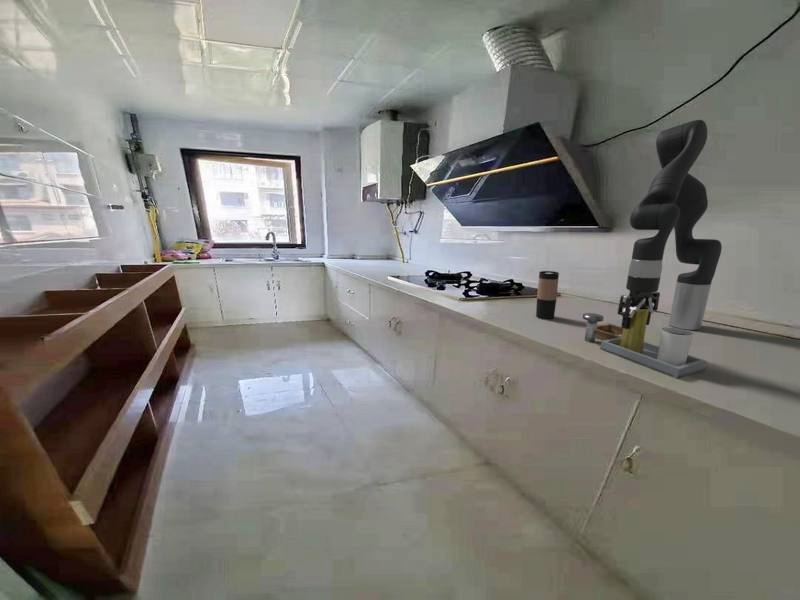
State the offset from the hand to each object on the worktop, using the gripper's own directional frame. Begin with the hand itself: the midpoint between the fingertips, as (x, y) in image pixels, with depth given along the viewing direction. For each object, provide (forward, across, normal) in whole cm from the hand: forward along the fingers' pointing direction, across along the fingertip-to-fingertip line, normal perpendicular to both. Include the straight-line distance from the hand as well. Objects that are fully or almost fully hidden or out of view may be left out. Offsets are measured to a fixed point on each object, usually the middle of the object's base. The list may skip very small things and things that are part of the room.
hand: (635, 326), depth 92 cm
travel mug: (+9, -4, -39) cm, 40 cm away
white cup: (+8, 0, +11) cm, 13 cm away
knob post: (+9, +2, -12) cm, 15 cm away
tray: (+9, 0, +5) cm, 10 cm away
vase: (+8, 0, 0) cm, 8 cm away
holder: (+9, -7, -11) cm, 16 cm away
